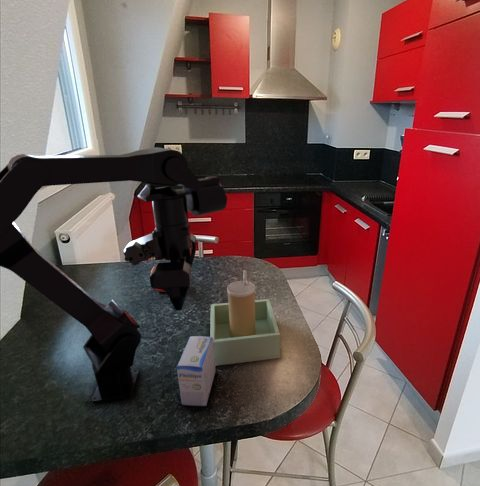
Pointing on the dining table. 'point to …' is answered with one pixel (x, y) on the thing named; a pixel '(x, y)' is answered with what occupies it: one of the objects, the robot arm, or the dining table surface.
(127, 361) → the robot arm
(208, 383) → the medicine box
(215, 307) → the bin
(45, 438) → the dining table surface
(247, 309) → the straw cup
